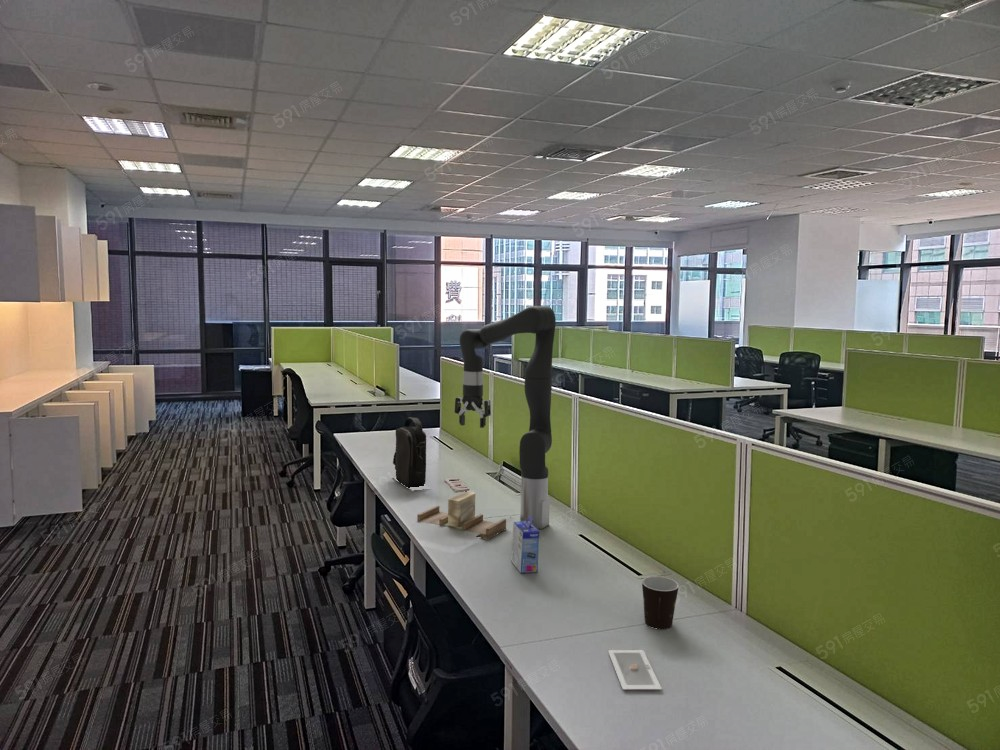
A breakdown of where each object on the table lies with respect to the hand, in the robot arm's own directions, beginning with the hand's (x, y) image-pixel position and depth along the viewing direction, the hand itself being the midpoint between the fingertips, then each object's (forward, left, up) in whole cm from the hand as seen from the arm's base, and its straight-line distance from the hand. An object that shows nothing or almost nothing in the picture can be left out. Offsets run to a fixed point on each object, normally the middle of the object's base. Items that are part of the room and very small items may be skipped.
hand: (472, 426), depth 252 cm
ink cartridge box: (-44, +43, -30) cm, 69 cm away
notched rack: (-10, +23, -30) cm, 39 cm away
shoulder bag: (+37, -13, -30) cm, 49 cm away
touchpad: (-89, +82, -31) cm, 124 cm away
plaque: (+16, -17, -31) cm, 39 cm away
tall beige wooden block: (-10, +23, -28) cm, 38 cm away
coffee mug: (-87, +59, -30) cm, 109 cm away
